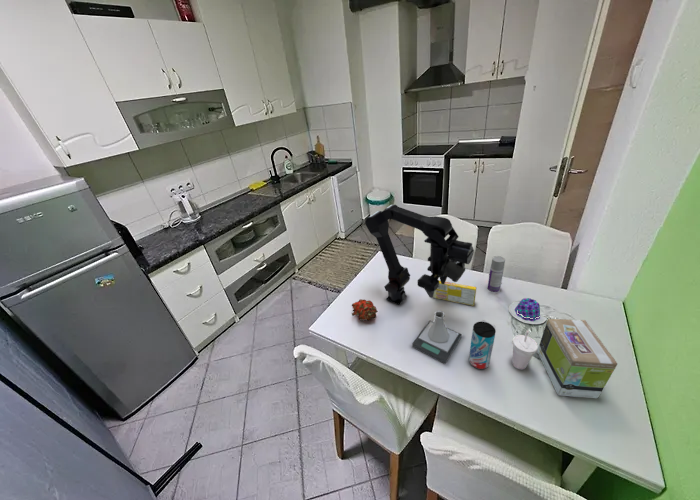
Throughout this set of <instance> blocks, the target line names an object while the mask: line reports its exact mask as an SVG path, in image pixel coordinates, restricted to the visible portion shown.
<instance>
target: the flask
mask: <svg viewBox="0 0 700 500" xmlns="http://www.w3.org/2000/svg"><path fill="white" fill-rule="evenodd" d="M433 315H434V321H433V324H432V326H431V327H430V329H429V332H428V336H429V338H430V340H431V341H435V342H438V343H442V342H447V341H448V338H449V333H448V331H447V328H448V327H447V326H446V324H445V320H444V319H445V318H444V317H445V312H444V311H442V310H436V311H434V314H433ZM446 327H447V328H446Z"/></svg>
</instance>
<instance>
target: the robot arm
mask: <svg viewBox="0 0 700 500" xmlns="http://www.w3.org/2000/svg"><path fill="white" fill-rule="evenodd" d="M389 220H393V221H395V222H398V223H400V224H403V225H406V226H409V227H411V228H414V229H416V230H419V231H421V232H422V233H423V234H424V236H425V237H426V238H425V239H424V241H423V242H424V243H427V244H430V248H429V249H430V251H429V256H428V257H427V262H429V266H428V267H427V270H426V271H428V272H430V273H431V275H429V274H426V273H424V274H422V275H421V276H420V277H419V278H418V279H417V286H418V287H420V288H421V289H423V290H424V291H425V292H426V294H427V296H428V297H429V298H431V299H433V295H434V291H435V290H436V289H437V288H438V287H439V286H438V285H439V281H441V283H442V284H445V282H447V279H449V280H451V281H452V282H453V283H457V282H458V281H459V280H460V279H461V277H462V276H463V275H464V273H465V271H466V267H465V266H466V265H470V263H471V262H472V260H473V258H474V254H475V249H474V246H473V243H472V242H469V241H467V242H466V241H462V240H458V239H459V235H458V233H457V232H456V230H455V228H454V227H453V224H452V222H451V220H450V219H449V218H447V217H442V216H437V215H436V216H435V215H433V216H426V215H423V214H421V213H418V212H414V211H411V210H408V209H405V208H403V207H400V206H398V205H396V204H390V205H389V206H387V207H385V209H384V210H376V212H374V213H373V214H371V215H369V216H368V217H366V219H365V222H364V223H365V226H366V228H367V230H368V232H369V234H371V235H372V236H373V237H374V238H376V241H377V244H378V246H379V249H380V251H381V254H382V256H383V258H384V261H385V264H386V266H387V269H388V272H387V273H388V274H387V279H388V282H387V283H386V284H385V285H384V286H383V288H384V291H386V292H387V297H386V299H385V300H386V301H388V302H390V303H393V304H395V305H397V306H400V305H401V304H402V302H404V301H405V300H406V298H407V296H408V295H406V290H405V286H406V285H407V284H408V282H409V281H410V280H411V274H410V272H409V269H408V267H404V266H403V265H401V263H400V260H399V258H398V255H397V253H396V250H395V247H394V245H393V242H392V239H391V237H390V236H391V235H390V234H389V227H390V223H389ZM446 237H447V238H446Z"/></svg>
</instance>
